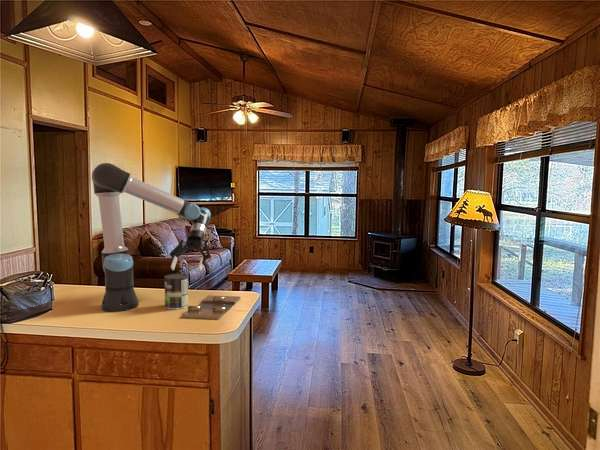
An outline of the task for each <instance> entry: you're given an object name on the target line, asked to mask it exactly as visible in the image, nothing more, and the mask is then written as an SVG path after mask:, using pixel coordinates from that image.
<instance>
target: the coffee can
mask: <svg viewBox="0 0 600 450" xmlns="http://www.w3.org/2000/svg"><path fill="white" fill-rule="evenodd" d="M163 278H164V281H163V282H164V308H165V309H166V310H173V311H174V310H175V311H176V310H184V309H186V308H188V307H189V279H188V278H189V275H188V274H186V273H171V274H166V275H164V277H163Z"/></svg>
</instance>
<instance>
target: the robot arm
mask: <svg viewBox="0 0 600 450" xmlns="http://www.w3.org/2000/svg"><path fill="white" fill-rule="evenodd" d="M91 180H92V185H93V192H94V193H93V194H94V195H95V196H96V197H98V204H99V212H100V222H101V229H102V237H103V246H104V248H103V249H102V251H101V260H102V270H103V272H104V283H105V284H104V286H105V287H104V288H105V289H104V290H105V292H104V295H103V299H102V301H101V310H102V311H105V312H122V311H123V312H124V311H129V310H132V309H135V308H137V307H138V306H139V299H138V296H137V294H136V291H135V287H134V285H135V283H134V260H133V256H132V255H131V254H130V253H129V248H128V247H127V246H125V239H124V231H123V223H122V222H123V221H122V213H121V205H120V195H121V194H124V193H126V194H128V195H130V196H133V197H136V198H138V199H140V200H142V201H145V202H147V203H149V204H152V205H154V206H157V207H160V208H162V209H163V210H166V211H169V212H170V213H174V214H175V215H177V216H179V217H181V218H183V219H184V220H186V221H188V222H190V223H192V225H191V228H190V231H189V233H188V237H187V240H186V241H184V240H183V239H181V240H180V241H179V243H178V244H177V245H176V246H175V248H173V249H172V251H171V252H170V253H169V256H170V257H171V260H170V263H171V265H170V269H171V271H175V268H176V265H177V263H178V258H179V257H181V256H182V255H183V254H184V253H186V252H189V251H197V250H198V251H199V253H200V254H201V257H200V260H199V263H198V271H199V272H202V270H203V267H204V265H205V264H206V262H207V260H208V259H210V260H211V258H212V256H211V252H210V249H209V242H208V240H204V239H205V236H206V232H207V229H208V226H209V223H210V220H211V216H212V213H211V211H210V210H209V209H208V208H206V207H199V205H197V204H195V203H191V202H190V201H187V200H184V199H183V198H180V197H178V196H176V195H174V194H171V193H170V192H167V191H166V190H165V191H164V190H162V189H160V188H158V187H155V186H153V185H151V184H149V183H146V182H144V181H142V180H140V179H138V178H135V177H133V176H132V174H131V173H130V172H127V171H125V170H124V169H122V168H120V167H118V166H116V165H115V164H113V163H110V162H103V163H100V164H98V165H97V166H96V167H95V168H94V169H93V170H92V173H91ZM202 246H203V247H204V249H205V252H206V253H205V252H204V251H203V249H202V248H201V247H202Z"/></svg>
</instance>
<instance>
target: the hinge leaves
mask: <svg viewBox="0 0 600 450" xmlns="http://www.w3.org/2000/svg"><path fill="white" fill-rule="evenodd" d="M240 300H241V296H236V295H235V296H233V295H232V296H231V295H211V294H210V295H209V294H208V295H207V296H206V297H205V298H203V299H202V300H201V302H200V303H199V304H197V305H188V307H187V310H186V311H185V312H184V313H182V314H181V318H182V319H198V320H199V319H201V320H202V319H203V320H221V318H222V317H223V316H224V315H225V314H226V313H227V312H229V311H230V310H231V308H233V307H234V306H235V305H236V304H237V303H238V302H239V301H240ZM232 306H233V307H232Z"/></svg>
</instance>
